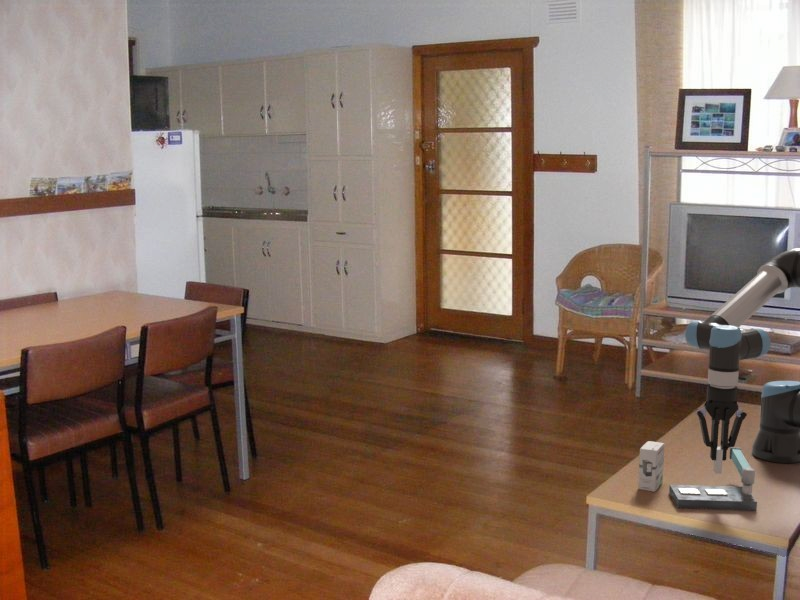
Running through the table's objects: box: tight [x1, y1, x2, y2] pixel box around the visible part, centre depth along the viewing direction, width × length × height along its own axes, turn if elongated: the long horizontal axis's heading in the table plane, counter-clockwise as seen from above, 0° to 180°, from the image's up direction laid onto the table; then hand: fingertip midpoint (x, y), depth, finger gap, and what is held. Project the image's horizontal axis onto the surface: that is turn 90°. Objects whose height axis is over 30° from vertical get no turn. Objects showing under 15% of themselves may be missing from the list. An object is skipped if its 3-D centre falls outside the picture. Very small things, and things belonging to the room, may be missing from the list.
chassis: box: [668, 483, 758, 512], centre depth 250 cm, size 20×11×5 cm, turn 86°
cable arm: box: [729, 446, 756, 485], centre depth 258 cm, size 21×3×4 cm, turn 170°
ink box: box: [637, 440, 665, 492], centre depth 262 cm, size 9×5×12 cm, turn 151°
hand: (717, 471), depth 249 cm, fingers closed
